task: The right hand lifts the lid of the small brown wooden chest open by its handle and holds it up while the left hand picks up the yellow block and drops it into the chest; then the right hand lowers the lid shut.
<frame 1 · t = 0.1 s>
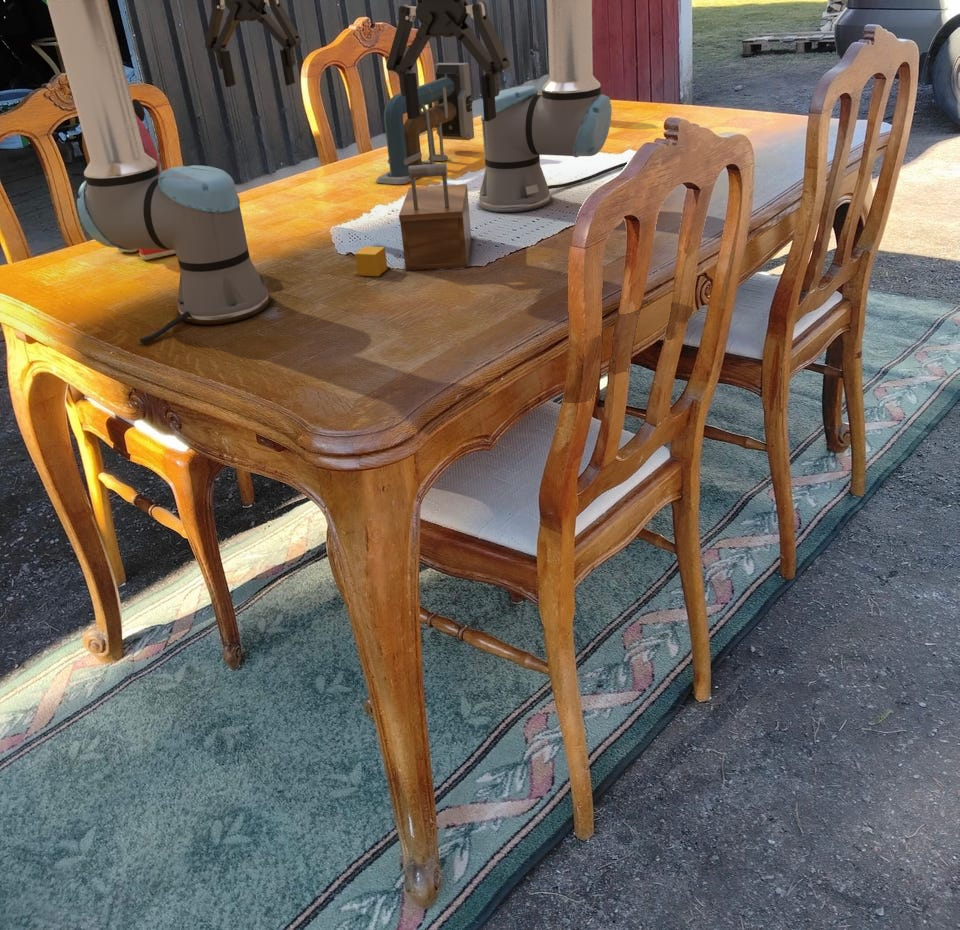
left hand: (260, 85, 196), 28 cm above the table, tool pointing down, fingers open, 13 cm apart
right hand: (451, 118, 152), 28 cm above the table, tool pointing down, fingers open, 13 cm apart
block: (372, 272, 177), on the table
aerosol can: (574, 120, 278), on the table
lid: (432, 181, 176), point 14 cm above the table, hinge at -0.1°
toy: (152, 251, 198), on the table
chest: (439, 253, 184), on the table
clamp: (426, 166, 244), on the table
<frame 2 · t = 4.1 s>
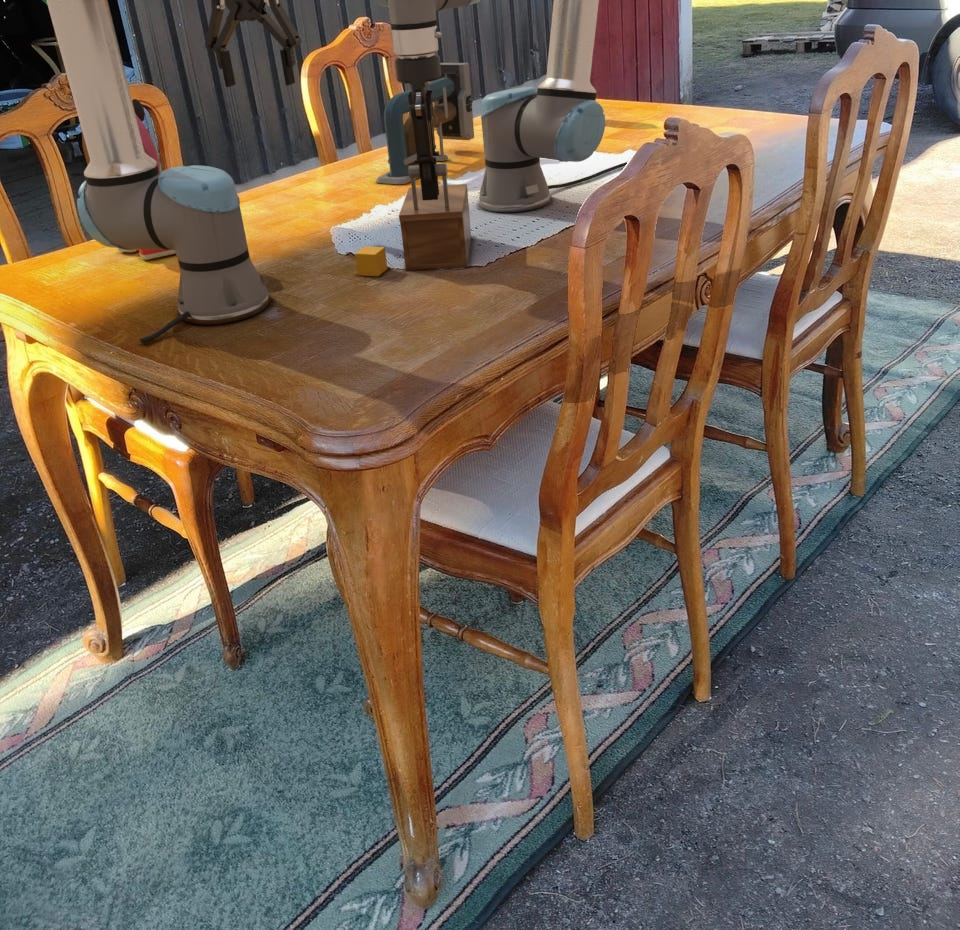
left hand: (260, 85, 196), 28 cm above the table, tool pointing down, fingers open, 13 cm apart
right hand: (430, 197, 172), 12 cm above the table, tool pointing down, fingers closed on lid, 2 cm apart
lid: (432, 181, 176), point 14 cm above the table, hinge at -0.1°, touching right hand
everything else where it was.
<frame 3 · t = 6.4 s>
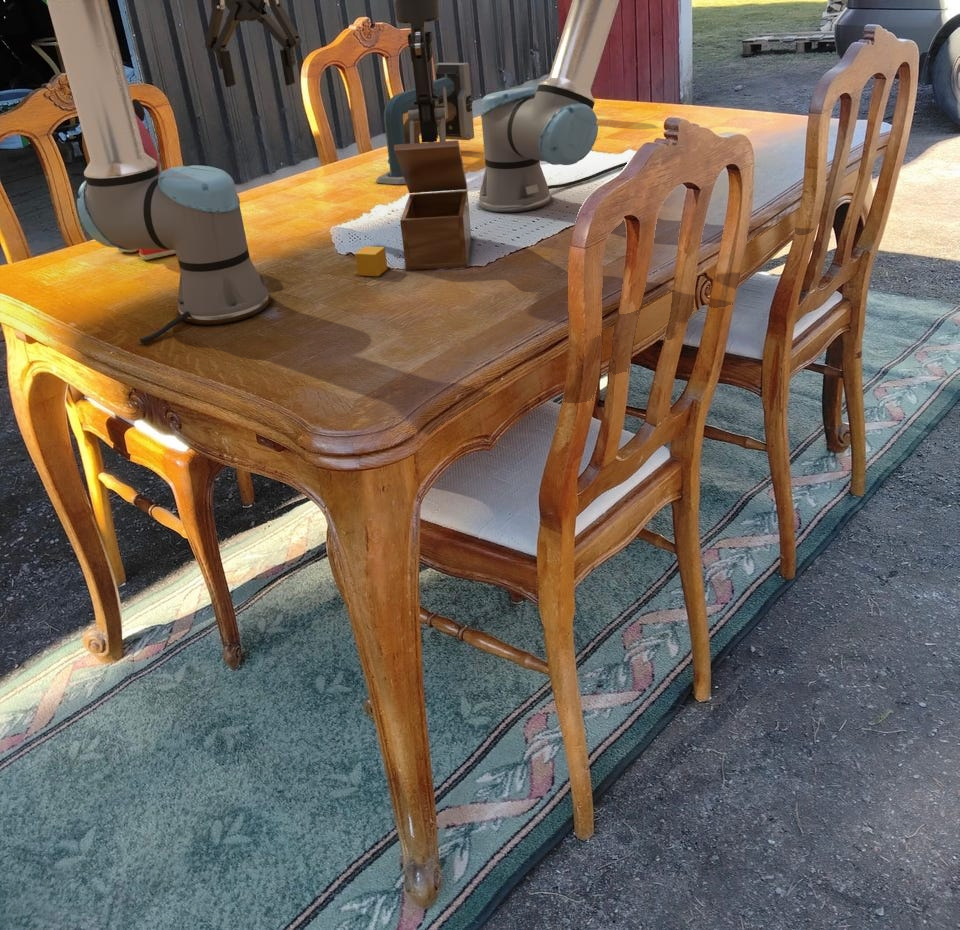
left hand: (260, 85, 196), 28 cm above the table, tool pointing down, fingers open, 13 cm apart
right hand: (430, 139, 174), 21 cm above the table, tool pointing down, fingers closed on lid, 2 cm apart
lid: (431, 148, 177), point 19 cm above the table, hinge at 38.3°, touching right hand
everything else where it was.
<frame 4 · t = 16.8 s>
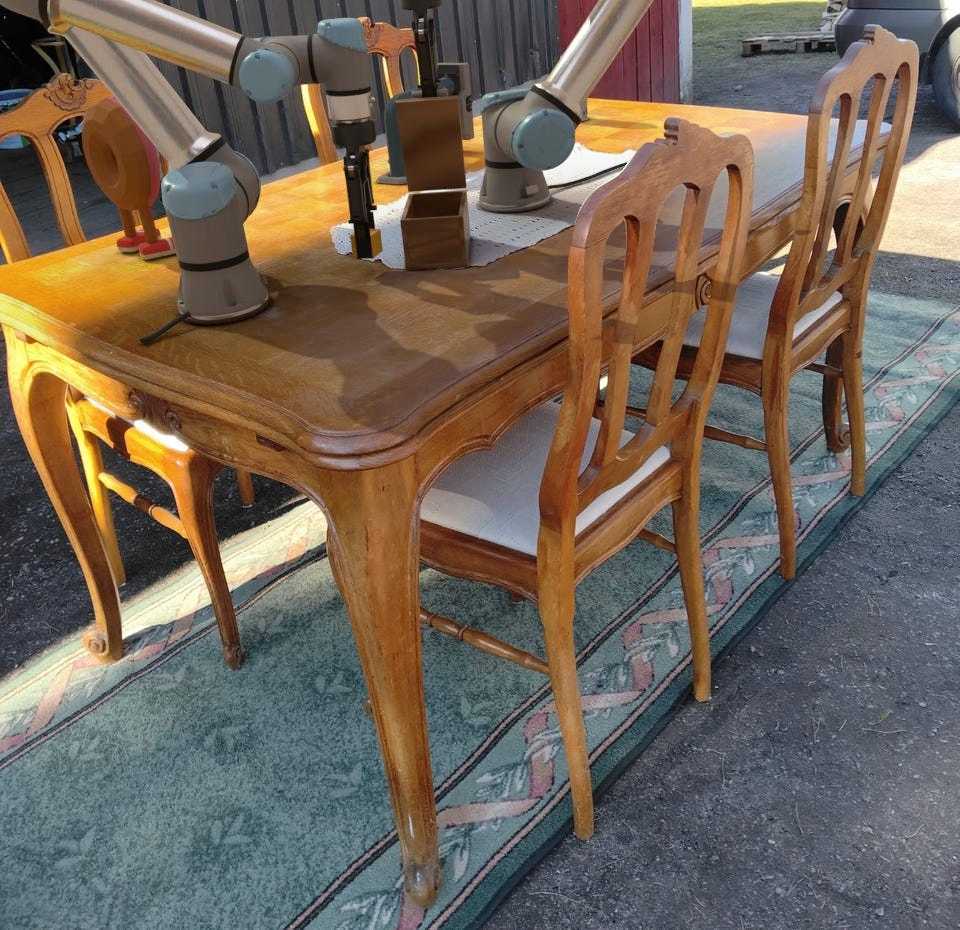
left hand: (367, 252, 175), 4 cm above the table, tool pointing down, fingers closed on block, 5 cm apart
right hand: (433, 122, 182), 22 cm above the table, tool pointing down, fingers closed on lid, 2 cm apart
block: (367, 254, 175), point 3 cm above the table, touching left hand
lid: (432, 134, 182), point 20 cm above the table, hinge at 72.6°, touching right hand
everything else where it was.
when the left hand's fingers open (15 cm above the table, at t = 19.9 s): block drops 14 cm, resting on chest.
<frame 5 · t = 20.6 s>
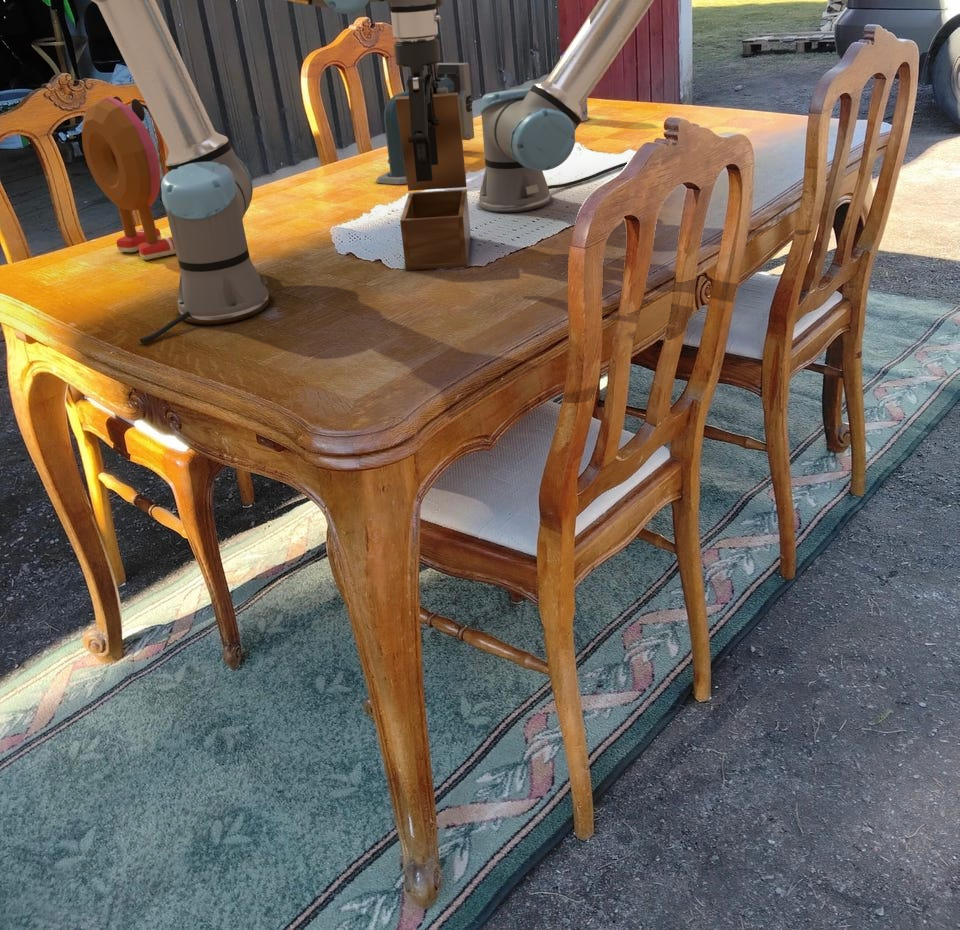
left hand: (427, 172, 171), 16 cm above the table, tool pointing down, fingers open, 12 cm apart
right hand: (433, 121, 183), 22 cm above the table, tool pointing down, fingers closed on lid, 2 cm apart
block: (438, 256, 179), point 1 cm above the table, touching chest
lid: (433, 133, 182), point 20 cm above the table, hinge at 75.9°, touching left hand, right hand
chest: (439, 252, 183), on the table, touching block
everything else where it was.
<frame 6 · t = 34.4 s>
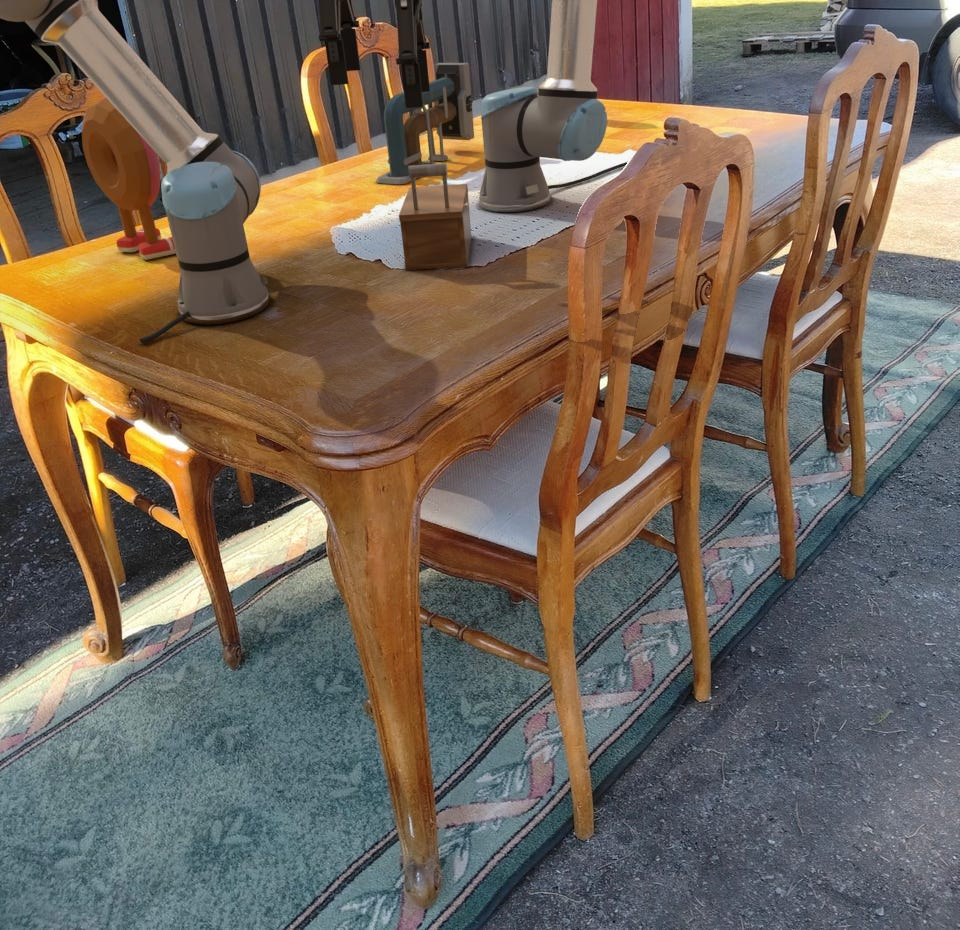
left hand: (346, 77, 160), 34 cm above the table, tool pointing down, fingers open, 13 cm apart
right hand: (418, 99, 160), 30 cm above the table, tool pointing down, fingers open, 13 cm apart
lid: (432, 181, 176), point 14 cm above the table, hinge at -0.1°
everything else where it was.
at the end: block inside the target area in the chest (4.5 cm from its centre), point 0.9 cm above the chest's base; lid at +0° (first picture: +0°); the left hand is holding nothing; the right hand is holding nothing; chest tilted 0°; chest moved 0.0 cm from its start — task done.
